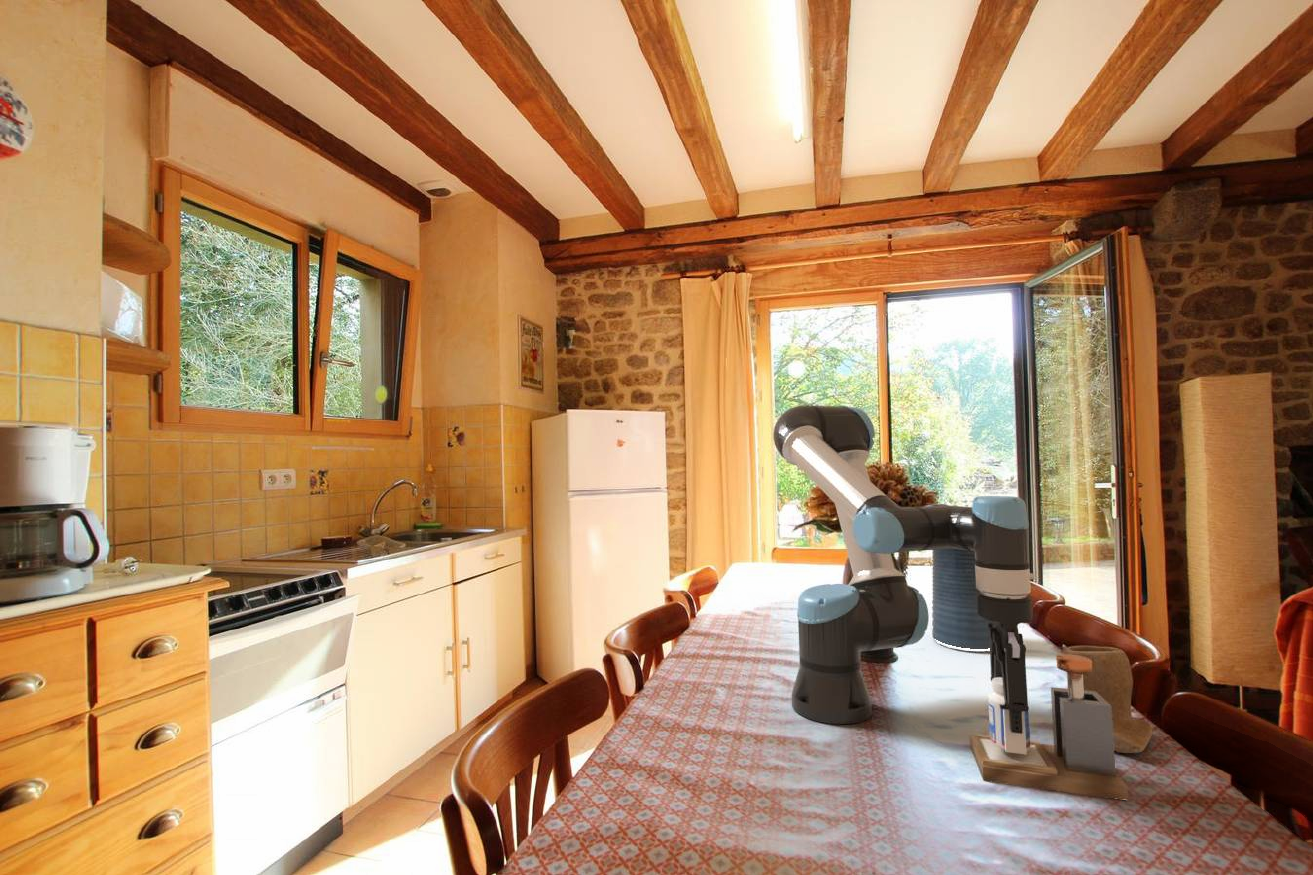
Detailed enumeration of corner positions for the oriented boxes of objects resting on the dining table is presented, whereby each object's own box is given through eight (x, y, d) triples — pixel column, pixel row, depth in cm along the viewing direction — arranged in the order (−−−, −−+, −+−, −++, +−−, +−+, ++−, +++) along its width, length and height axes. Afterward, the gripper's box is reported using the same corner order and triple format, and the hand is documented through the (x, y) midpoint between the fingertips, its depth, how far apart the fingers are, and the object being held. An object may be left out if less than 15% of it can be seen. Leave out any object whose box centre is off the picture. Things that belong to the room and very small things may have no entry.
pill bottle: (1038, 748, 90) (1035, 683, 90) (1017, 756, 87) (1014, 690, 88) (1003, 733, 95) (1000, 673, 95) (982, 741, 92) (979, 679, 93)
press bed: (983, 780, 87) (982, 762, 87) (970, 747, 97) (969, 731, 98) (1128, 801, 81) (1127, 782, 81) (1098, 763, 91) (1097, 746, 92)
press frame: (1066, 770, 86) (1063, 701, 86) (1054, 751, 91) (1050, 687, 92) (1115, 776, 84) (1111, 706, 84) (1099, 757, 89) (1095, 691, 90)
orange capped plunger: (1066, 740, 87) (1061, 661, 87) (1056, 728, 91) (1052, 652, 91) (1101, 744, 85) (1096, 664, 86) (1090, 731, 89) (1085, 655, 90)
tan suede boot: (1077, 713, 110) (1072, 633, 111) (1159, 733, 101) (1153, 646, 102) (1054, 739, 100) (1049, 650, 101) (1143, 764, 91) (1137, 667, 92)
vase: (1015, 653, 146) (1009, 527, 148) (950, 653, 146) (945, 528, 148) (980, 634, 162) (975, 521, 164) (922, 635, 162) (917, 522, 164)
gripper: (1048, 608, 82) (1057, 776, 81) (1016, 583, 100) (1023, 721, 98) (988, 604, 85) (996, 767, 83) (967, 581, 102) (973, 716, 101)
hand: (1010, 742), depth 91 cm, fingers closed on pill bottle, 5 cm apart
